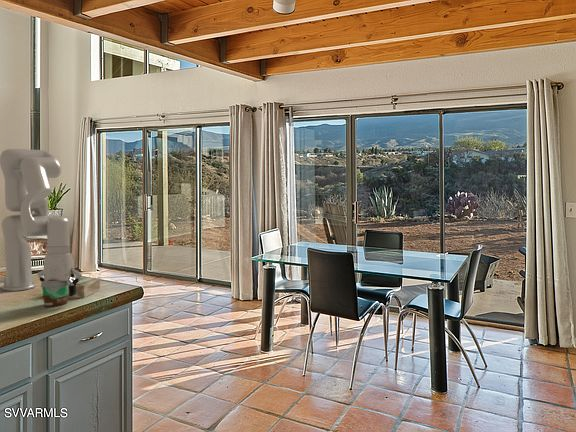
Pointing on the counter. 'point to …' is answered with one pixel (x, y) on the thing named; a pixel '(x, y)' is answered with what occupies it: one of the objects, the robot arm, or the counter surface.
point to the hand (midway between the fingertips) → (60, 295)
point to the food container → (55, 293)
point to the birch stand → (86, 287)
